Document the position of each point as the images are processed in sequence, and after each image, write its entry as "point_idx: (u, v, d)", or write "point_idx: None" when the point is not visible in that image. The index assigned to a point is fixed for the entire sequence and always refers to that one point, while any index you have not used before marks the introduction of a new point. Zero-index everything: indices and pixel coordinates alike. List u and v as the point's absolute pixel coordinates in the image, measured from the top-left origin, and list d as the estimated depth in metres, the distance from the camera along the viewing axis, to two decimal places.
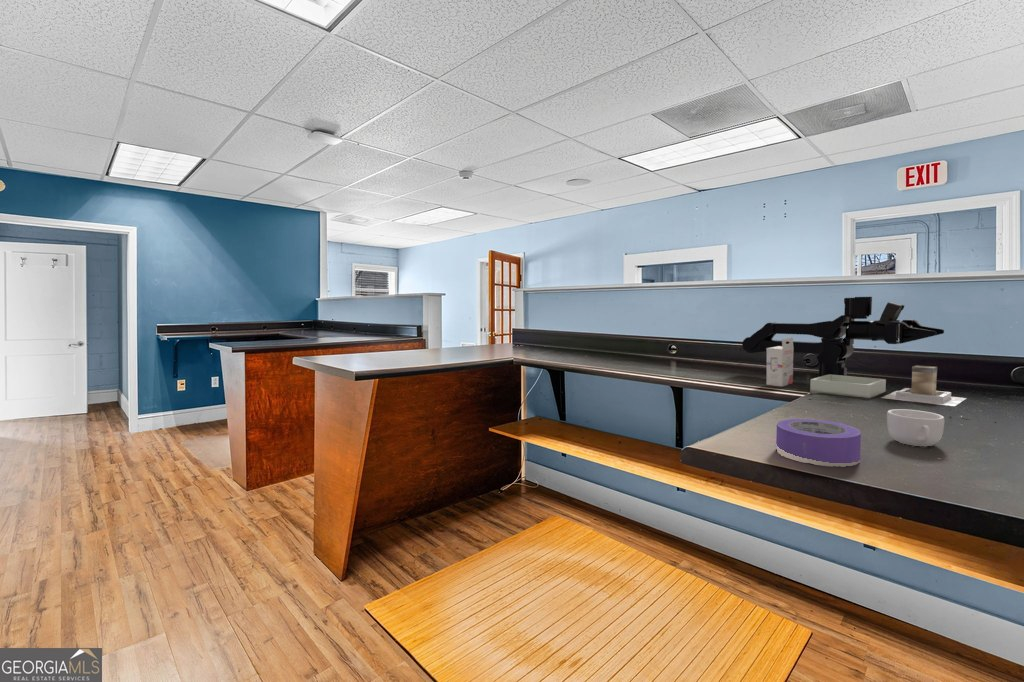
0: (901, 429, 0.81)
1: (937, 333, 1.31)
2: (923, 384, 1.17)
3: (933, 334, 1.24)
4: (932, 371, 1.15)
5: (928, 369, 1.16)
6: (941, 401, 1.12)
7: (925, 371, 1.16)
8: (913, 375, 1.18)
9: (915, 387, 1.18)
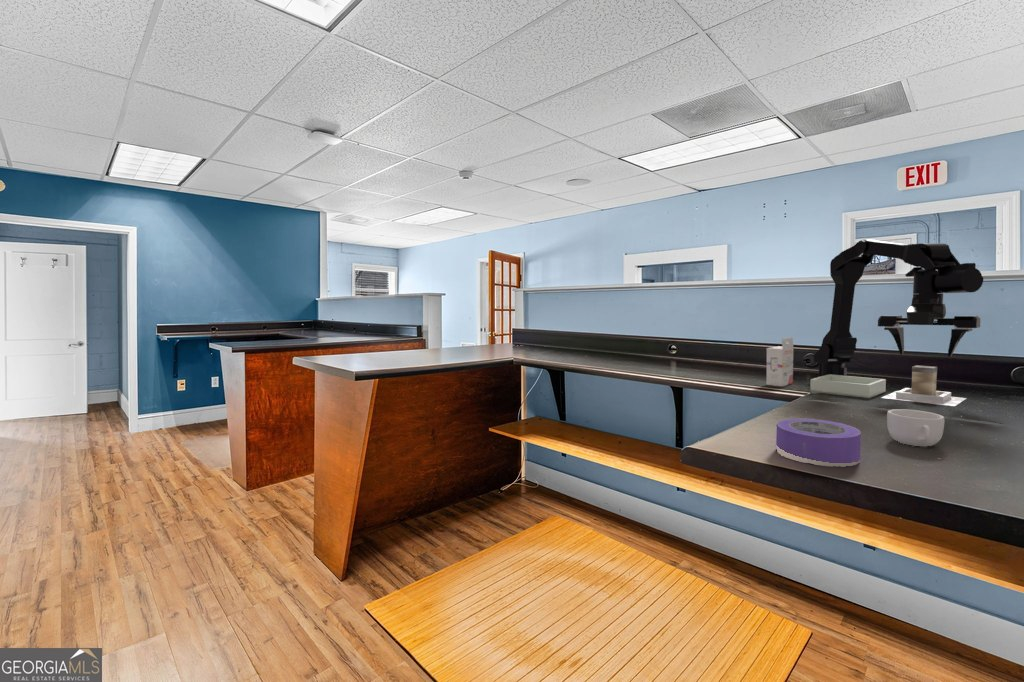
0: (901, 429, 0.81)
1: None
2: (923, 384, 1.17)
3: None
4: (932, 371, 1.15)
5: (928, 369, 1.16)
6: (941, 401, 1.12)
7: (925, 371, 1.16)
8: (913, 375, 1.18)
9: (915, 387, 1.18)
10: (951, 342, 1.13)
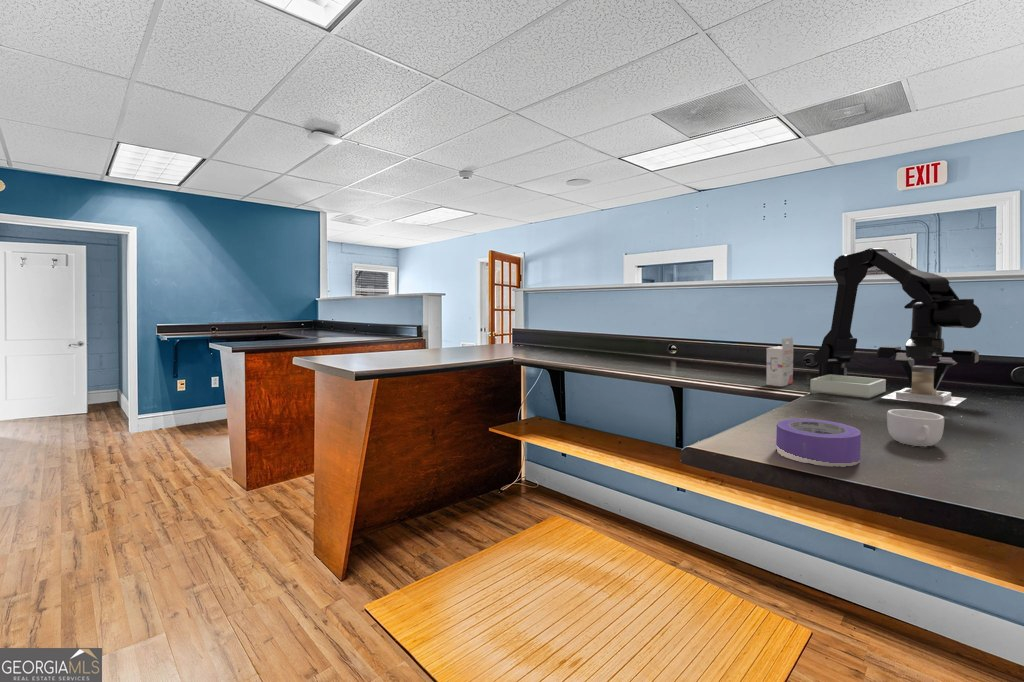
0: (901, 429, 0.81)
1: None
2: (923, 384, 1.17)
3: None
4: (932, 371, 1.15)
5: (928, 369, 1.16)
6: (941, 401, 1.12)
7: (925, 371, 1.16)
8: (913, 375, 1.18)
9: (915, 387, 1.18)
10: (936, 375, 1.15)
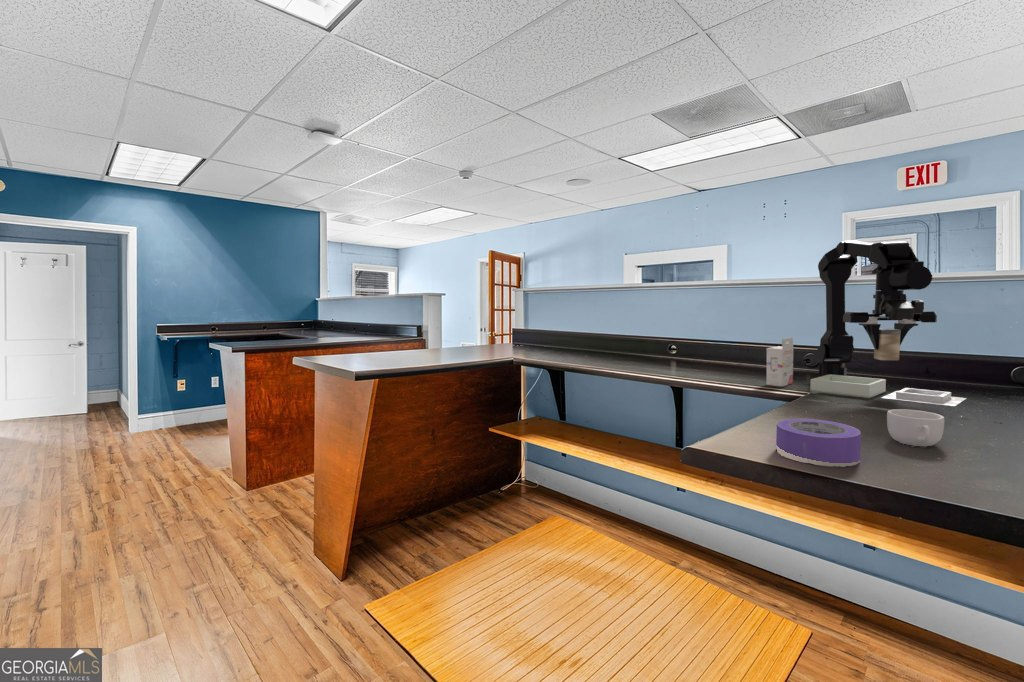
0: (901, 429, 0.81)
1: None
2: (892, 345, 1.21)
3: (874, 347, 1.24)
4: (899, 332, 1.20)
5: (896, 331, 1.20)
6: (941, 401, 1.12)
7: (894, 333, 1.20)
8: (882, 338, 1.21)
9: (884, 349, 1.21)
10: (901, 336, 1.21)
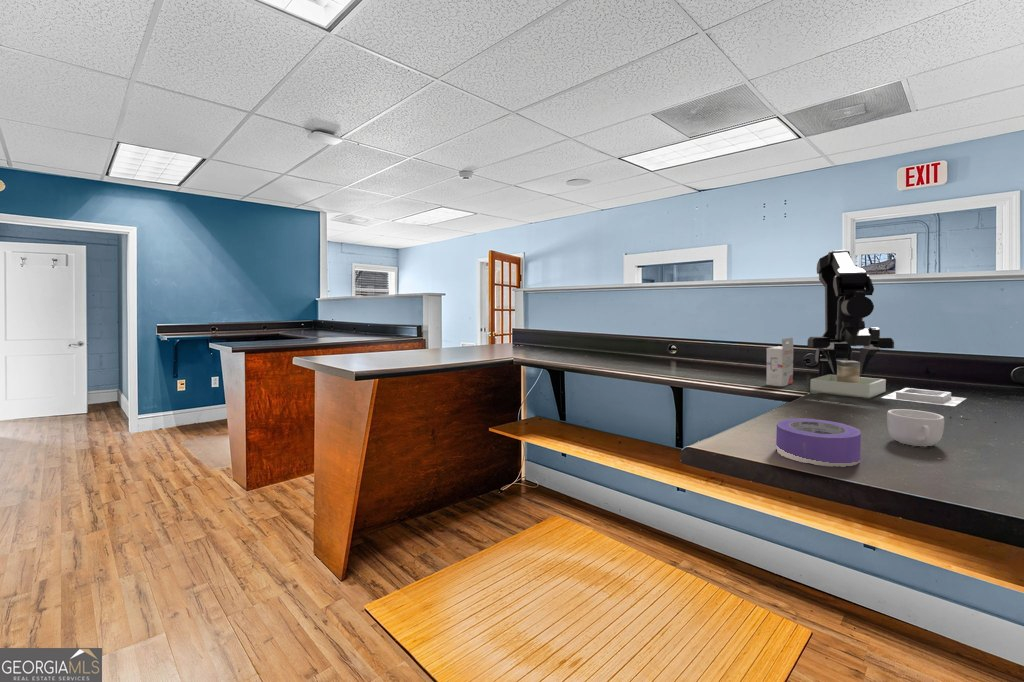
0: (901, 429, 0.81)
1: (860, 368, 1.28)
2: (852, 377, 1.26)
3: (832, 371, 1.30)
4: (859, 365, 1.26)
5: (856, 363, 1.26)
6: (941, 401, 1.12)
7: (854, 365, 1.26)
8: (843, 370, 1.27)
9: (845, 381, 1.27)
10: (865, 361, 1.26)
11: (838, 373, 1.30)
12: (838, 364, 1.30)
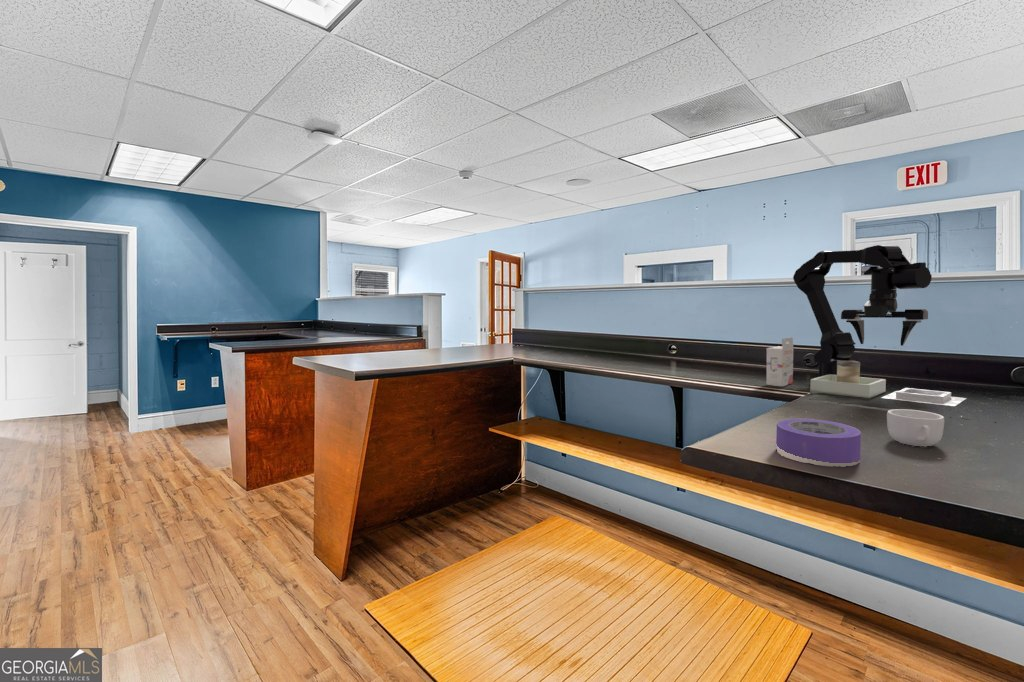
0: (901, 429, 0.81)
1: None
2: (852, 377, 1.26)
3: None
4: (859, 365, 1.26)
5: (856, 363, 1.26)
6: (941, 401, 1.12)
7: (854, 365, 1.26)
8: (843, 370, 1.27)
9: (845, 381, 1.27)
10: (903, 332, 1.28)
11: (838, 373, 1.30)
12: (838, 364, 1.30)
